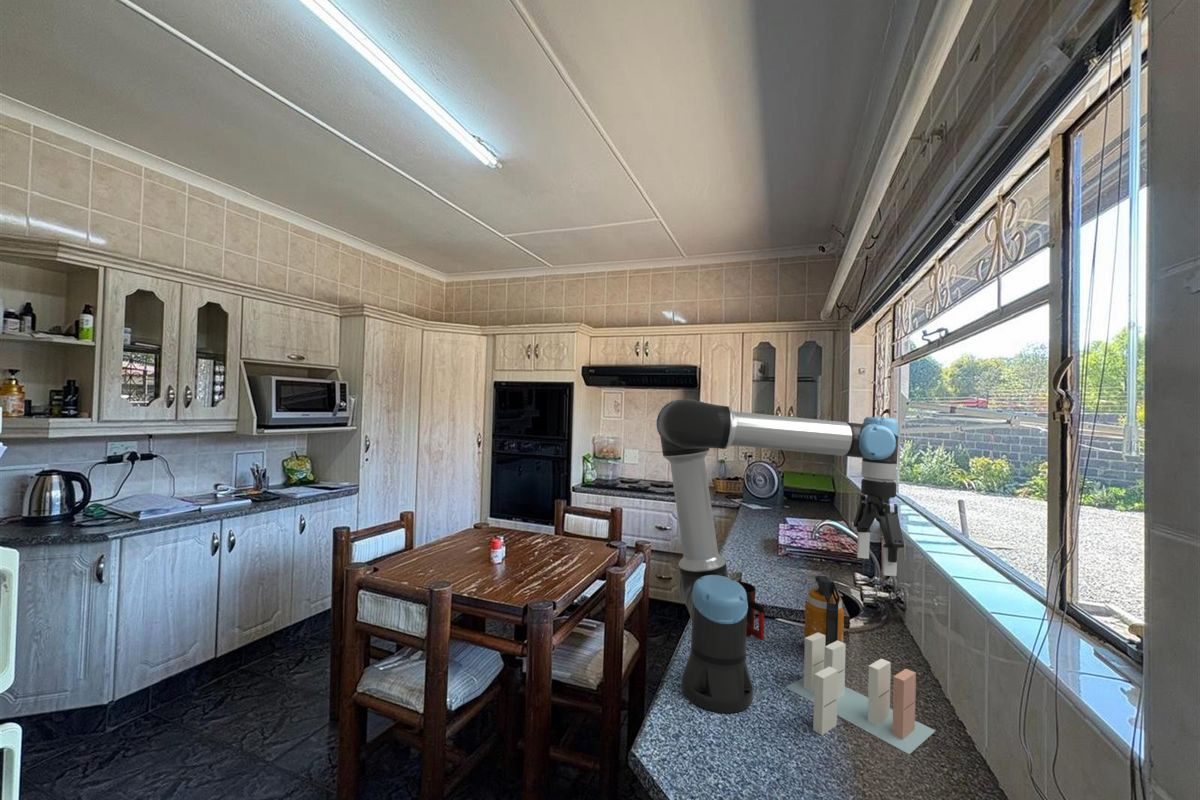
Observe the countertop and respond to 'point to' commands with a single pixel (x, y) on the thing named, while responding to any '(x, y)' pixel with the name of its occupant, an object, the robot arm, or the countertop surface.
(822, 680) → the domino
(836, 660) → the domino
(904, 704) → the end domino
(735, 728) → the countertop surface
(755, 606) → the mug
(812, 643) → the domino
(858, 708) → the mat
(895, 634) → the countertop surface
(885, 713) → the domino
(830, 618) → the canister
